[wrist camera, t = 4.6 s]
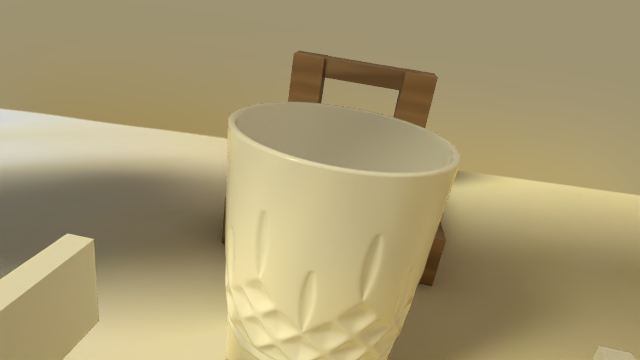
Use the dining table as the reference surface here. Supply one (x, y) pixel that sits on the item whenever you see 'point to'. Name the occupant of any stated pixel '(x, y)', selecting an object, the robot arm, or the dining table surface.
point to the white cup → (327, 228)
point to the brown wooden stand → (410, 83)
